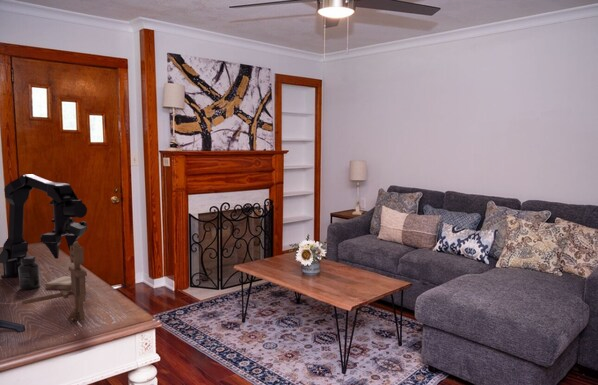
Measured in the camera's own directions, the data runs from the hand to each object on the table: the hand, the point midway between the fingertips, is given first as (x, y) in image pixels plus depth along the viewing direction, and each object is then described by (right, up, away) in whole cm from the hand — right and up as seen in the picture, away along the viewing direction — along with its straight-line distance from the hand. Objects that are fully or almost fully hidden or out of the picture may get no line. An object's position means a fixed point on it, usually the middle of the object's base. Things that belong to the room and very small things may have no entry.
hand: (64, 255), depth 171 cm
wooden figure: (+18, -16, -36) cm, 43 cm away
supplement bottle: (-13, -12, -2) cm, 18 cm away
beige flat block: (0, -12, +1) cm, 12 cm away
